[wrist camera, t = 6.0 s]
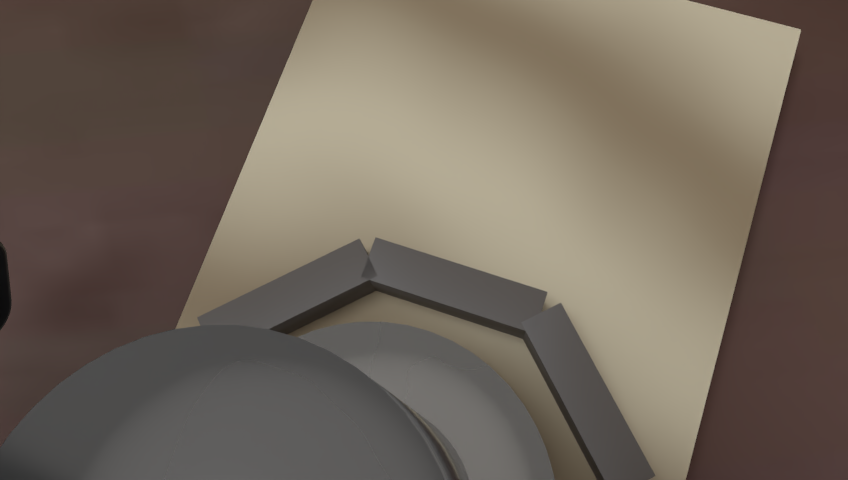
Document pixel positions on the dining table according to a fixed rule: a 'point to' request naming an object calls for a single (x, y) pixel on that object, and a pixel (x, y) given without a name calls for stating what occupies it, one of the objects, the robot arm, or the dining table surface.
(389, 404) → the round base post
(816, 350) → the dining table surface
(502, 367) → the carrier board
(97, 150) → the dining table surface
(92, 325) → the dining table surface
